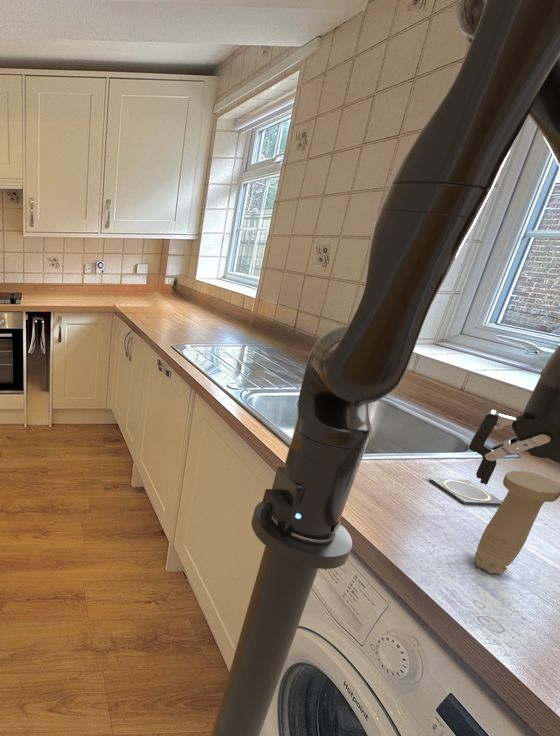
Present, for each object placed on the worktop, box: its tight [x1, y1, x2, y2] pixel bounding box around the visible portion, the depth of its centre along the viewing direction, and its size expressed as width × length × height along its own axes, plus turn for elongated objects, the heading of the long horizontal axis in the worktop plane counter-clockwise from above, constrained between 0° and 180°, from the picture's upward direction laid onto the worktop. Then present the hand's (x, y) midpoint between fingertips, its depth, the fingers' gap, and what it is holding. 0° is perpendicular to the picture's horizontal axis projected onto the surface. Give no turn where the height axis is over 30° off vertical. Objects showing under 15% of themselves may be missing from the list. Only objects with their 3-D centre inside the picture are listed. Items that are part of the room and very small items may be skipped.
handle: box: [473, 470, 560, 575], centre depth 58 cm, size 5×6×15 cm
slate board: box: [429, 478, 503, 507], centre depth 78 cm, size 8×8×1 cm
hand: (527, 496), depth 56 cm, fingers open, 8 cm apart
